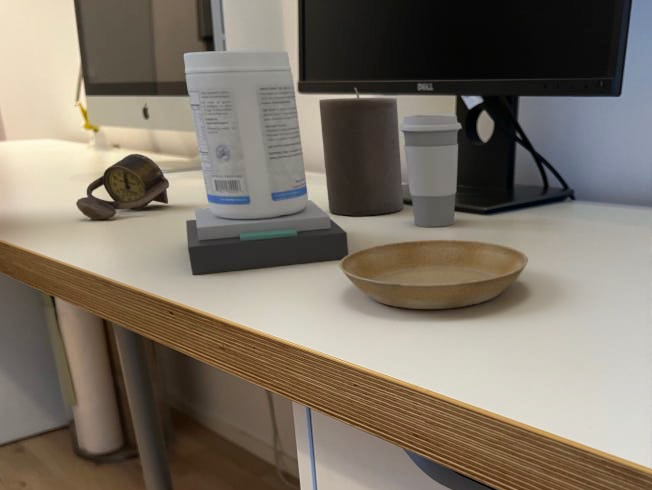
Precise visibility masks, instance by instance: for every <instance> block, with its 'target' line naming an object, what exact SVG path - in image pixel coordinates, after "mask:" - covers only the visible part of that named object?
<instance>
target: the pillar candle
mask: <svg viewBox="0 0 652 490" xmlns="http://www.w3.org/2000/svg"><path fill="white" fill-rule="evenodd" d="M357 89H358V88H356V87H354V91H355V94H356V97H348V98H347V97H345V98H344V97H343V98H325V99H324V98H323V99H319V100H318V102H319V103H318V104H319V114H320V125H321V138H322V147H323V148H322V150H323V161H324V169H325V170H324V171H325V179H326V190H327V199H328V210H329V213H332V214H334V215H342V216H343V215H346V216H347V215H348V216H357V217H365V216H375V215H384V214H392V213H396V212H399V211H401V210H403V209H404V197H403V181H402V180H403V178H402V164H401V163H402V162H401V149H400V148H401V147H400V146H401V145H400V132H399V131H400V130H399V114H398V113H399V112H398V98H396V97H360V95H359V92H358V90H357Z"/></svg>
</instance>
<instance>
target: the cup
mask: <svg viewBox="0 0 652 490" xmlns="http://www.w3.org/2000/svg"><path fill="white" fill-rule="evenodd" d="M398 129H399V131H401V132H402V133H403V138H404V144H403V148H404V156H405V164H406V172H407V180H408V187H409V195H410V196H411V203H412V210H413V211H412V212H413V218H414V219H413V220H414V225H416V226H418V227H423V228H438V227H440V228H441V227H447V226H452V225H453V224H454V223H455V206H456V205H455V204H456V194H457V185H458V162H459V161H458V159H459V142H458V132H459V131H460V130H462V129H463V128H462V124H461V122H458V117H457V114H447V113H446V114H444V113H442V114H410V115H403V118H402V123H400V125H399V126H398Z"/></svg>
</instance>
